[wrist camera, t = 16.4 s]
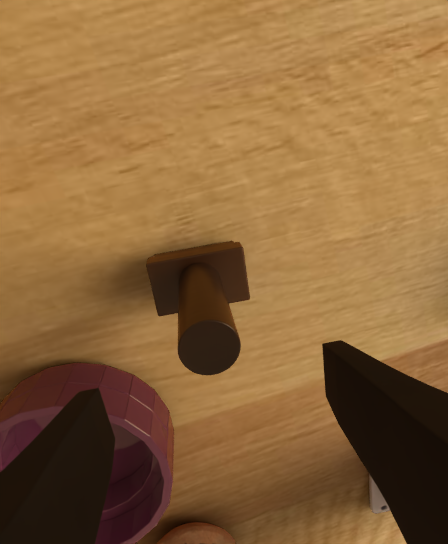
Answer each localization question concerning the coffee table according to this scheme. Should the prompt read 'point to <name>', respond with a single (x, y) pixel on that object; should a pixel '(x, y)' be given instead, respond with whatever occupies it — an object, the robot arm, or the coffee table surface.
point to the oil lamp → (197, 535)
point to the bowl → (128, 440)
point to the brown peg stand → (202, 301)
